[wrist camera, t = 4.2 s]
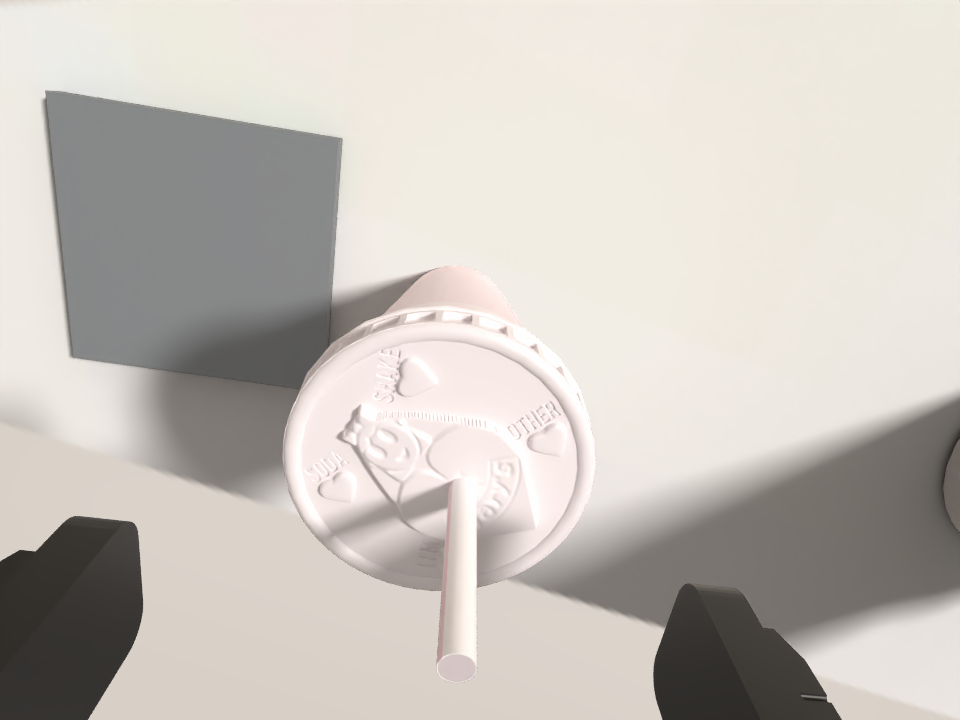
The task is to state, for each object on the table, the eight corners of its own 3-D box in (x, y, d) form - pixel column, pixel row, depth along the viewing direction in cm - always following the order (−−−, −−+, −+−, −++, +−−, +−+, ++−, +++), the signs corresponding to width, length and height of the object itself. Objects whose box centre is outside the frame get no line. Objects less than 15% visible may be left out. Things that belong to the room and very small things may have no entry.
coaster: (342, 138, 19) (338, 139, 18) (325, 384, 22) (321, 391, 21) (58, 91, 18) (45, 90, 18) (83, 351, 21) (73, 357, 21)
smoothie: (480, 430, 23) (486, 854, 10) (328, 342, 21) (103, 701, 8) (584, 292, 21) (764, 598, 8) (424, 185, 19) (321, 341, 6)
